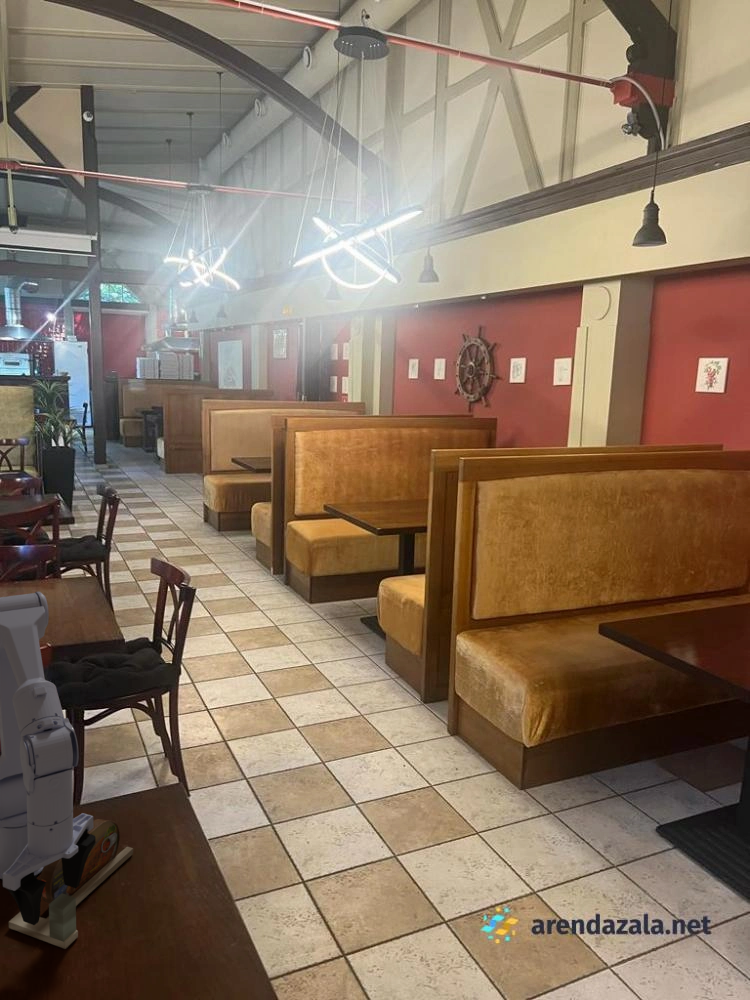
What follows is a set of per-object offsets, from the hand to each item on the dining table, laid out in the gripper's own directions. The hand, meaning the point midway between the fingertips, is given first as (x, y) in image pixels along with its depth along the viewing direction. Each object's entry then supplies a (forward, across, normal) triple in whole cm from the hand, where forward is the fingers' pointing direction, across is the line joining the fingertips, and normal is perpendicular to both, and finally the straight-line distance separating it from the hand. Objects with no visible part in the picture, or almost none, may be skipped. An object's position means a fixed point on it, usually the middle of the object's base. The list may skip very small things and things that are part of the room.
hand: (52, 902), depth 100 cm
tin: (+6, +10, +4) cm, 12 cm away
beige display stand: (+5, +9, +2) cm, 10 cm away
